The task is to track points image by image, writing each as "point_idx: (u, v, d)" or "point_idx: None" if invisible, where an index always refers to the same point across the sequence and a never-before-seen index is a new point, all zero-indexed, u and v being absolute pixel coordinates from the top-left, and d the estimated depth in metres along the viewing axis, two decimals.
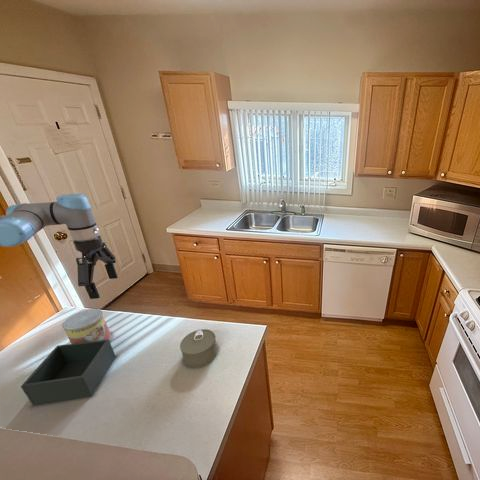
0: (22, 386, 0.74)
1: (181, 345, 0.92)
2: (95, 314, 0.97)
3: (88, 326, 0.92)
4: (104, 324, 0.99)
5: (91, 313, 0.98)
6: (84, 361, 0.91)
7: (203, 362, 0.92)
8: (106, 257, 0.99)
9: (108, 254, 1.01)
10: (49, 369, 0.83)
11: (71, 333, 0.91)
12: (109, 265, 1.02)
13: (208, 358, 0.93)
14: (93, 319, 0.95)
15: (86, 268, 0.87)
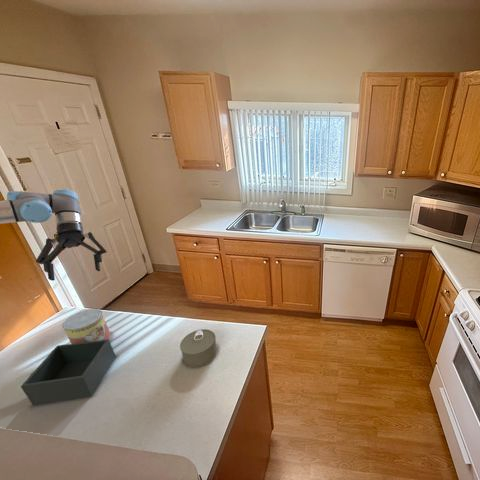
0: (22, 386, 0.74)
1: (181, 345, 0.92)
2: (95, 314, 0.97)
3: (88, 326, 0.92)
4: (104, 324, 0.99)
5: (91, 313, 0.98)
6: (84, 361, 0.91)
7: (203, 362, 0.92)
8: None
9: (47, 254, 0.97)
10: (49, 369, 0.83)
11: (71, 333, 0.91)
12: (51, 263, 0.96)
13: (208, 358, 0.93)
14: (93, 319, 0.95)
15: None
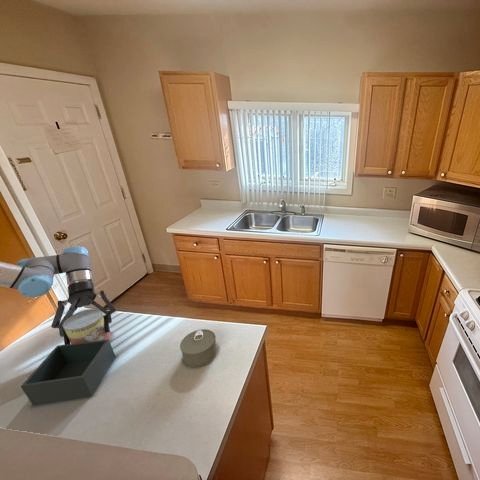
0: (22, 386, 0.74)
1: (181, 345, 0.92)
2: (95, 314, 0.97)
3: (88, 326, 0.92)
4: (104, 324, 0.99)
5: (91, 313, 0.98)
6: (84, 361, 0.91)
7: (203, 362, 0.92)
8: None
9: (61, 316, 0.95)
10: (49, 369, 0.83)
11: (71, 333, 0.91)
12: None
13: (208, 358, 0.93)
14: (93, 319, 0.95)
15: None
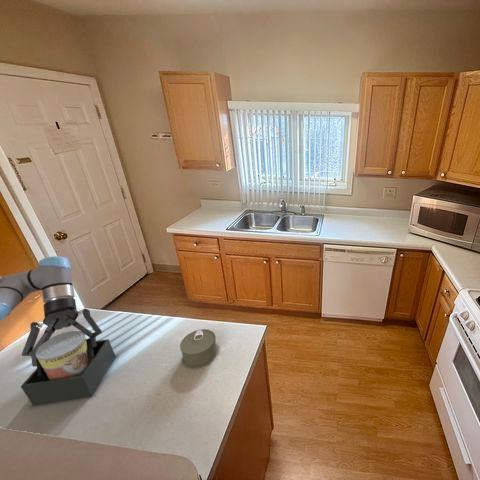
0: (22, 386, 0.74)
1: (181, 345, 0.92)
2: (76, 338, 0.82)
3: (66, 354, 0.77)
4: (87, 349, 0.83)
5: (72, 336, 0.82)
6: None
7: (203, 362, 0.92)
8: None
9: (34, 341, 0.80)
10: None
11: (46, 363, 0.75)
12: None
13: (208, 358, 0.93)
14: (73, 345, 0.79)
15: None
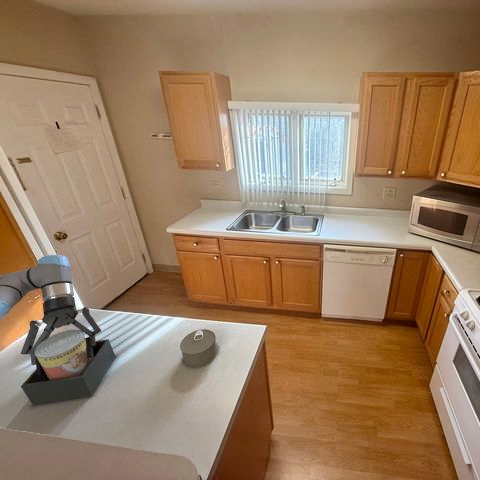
0: (22, 386, 0.74)
1: (181, 345, 0.92)
2: (76, 336, 0.81)
3: (66, 352, 0.76)
4: (86, 348, 0.83)
5: (71, 335, 0.82)
6: None
7: (203, 362, 0.92)
8: None
9: (34, 340, 0.79)
10: None
11: (45, 362, 0.75)
12: None
13: (208, 358, 0.93)
14: (73, 343, 0.79)
15: None
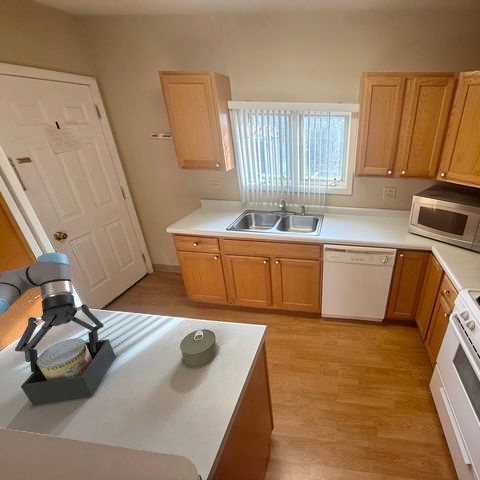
0: (22, 386, 0.74)
1: (181, 345, 0.92)
2: (77, 345, 0.83)
3: (68, 362, 0.78)
4: (88, 356, 0.84)
5: (72, 344, 0.83)
6: None
7: (203, 362, 0.92)
8: None
9: (30, 337, 0.79)
10: None
11: (47, 371, 0.76)
12: (35, 350, 0.78)
13: (208, 358, 0.93)
14: (74, 352, 0.80)
15: None
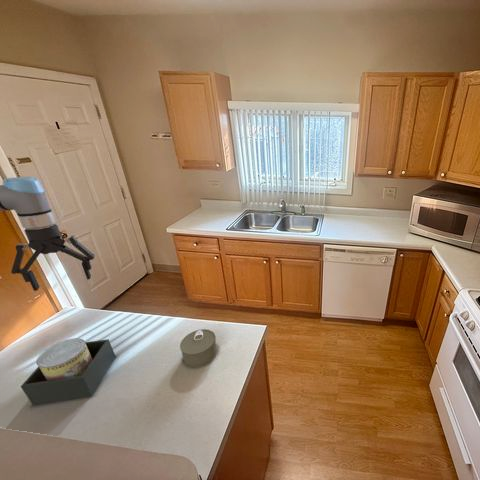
0: (22, 386, 0.74)
1: (181, 345, 0.92)
2: (77, 345, 0.83)
3: (68, 362, 0.78)
4: (88, 356, 0.84)
5: (72, 344, 0.83)
6: None
7: (203, 362, 0.92)
8: None
9: (21, 260, 0.82)
10: None
11: (47, 371, 0.76)
12: (31, 271, 0.84)
13: (208, 358, 0.93)
14: (74, 352, 0.80)
15: None
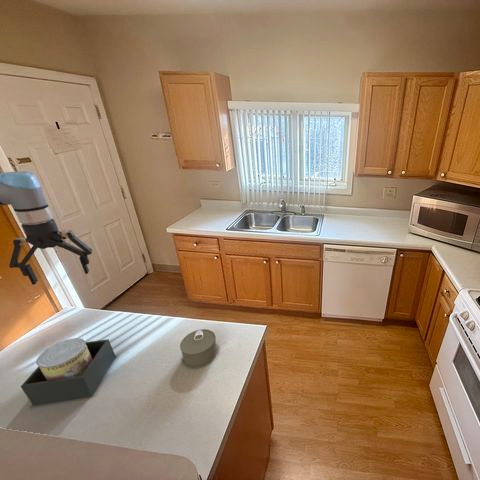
0: (22, 386, 0.74)
1: (181, 345, 0.92)
2: (77, 345, 0.83)
3: (68, 361, 0.78)
4: (88, 356, 0.84)
5: (72, 344, 0.83)
6: None
7: (203, 362, 0.92)
8: None
9: (19, 254, 0.82)
10: None
11: (47, 371, 0.76)
12: (29, 265, 0.85)
13: (208, 358, 0.93)
14: (74, 352, 0.80)
15: None
